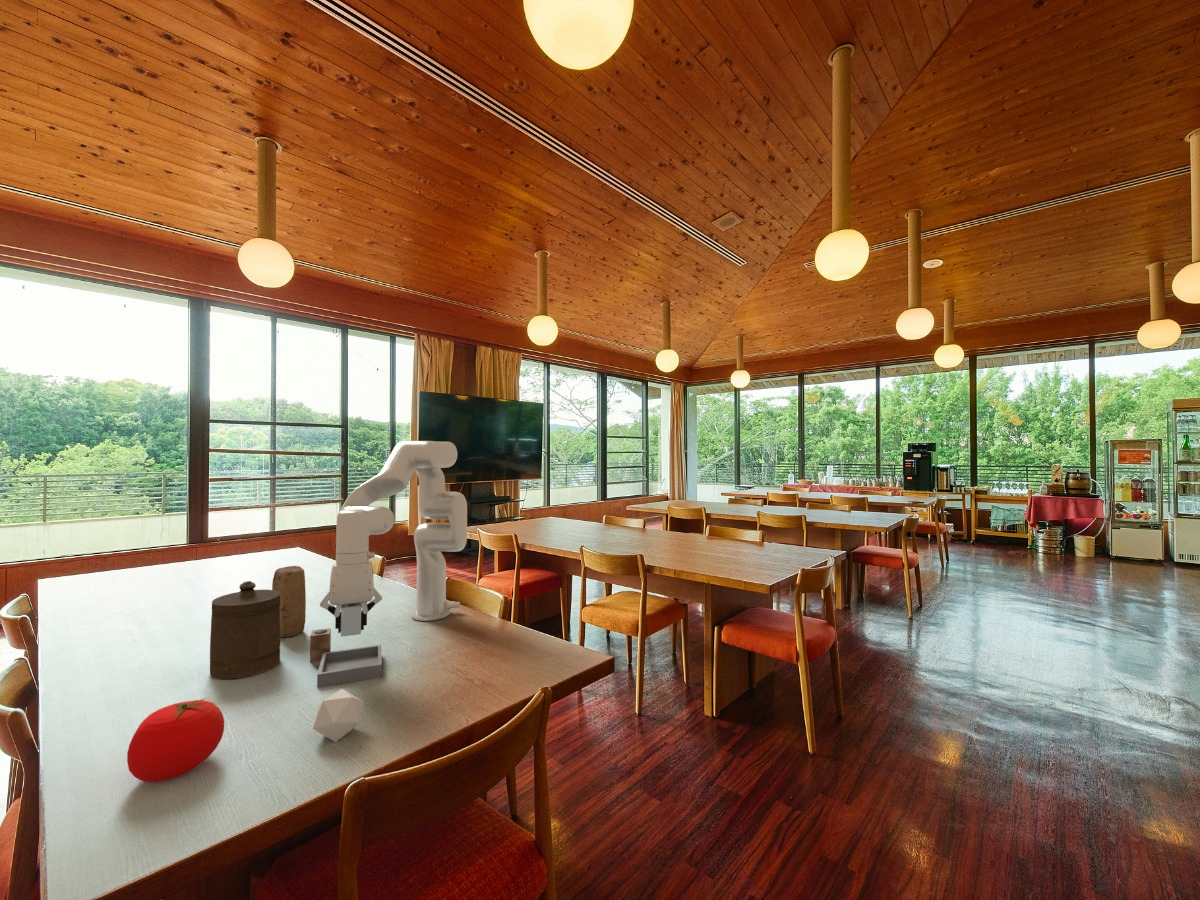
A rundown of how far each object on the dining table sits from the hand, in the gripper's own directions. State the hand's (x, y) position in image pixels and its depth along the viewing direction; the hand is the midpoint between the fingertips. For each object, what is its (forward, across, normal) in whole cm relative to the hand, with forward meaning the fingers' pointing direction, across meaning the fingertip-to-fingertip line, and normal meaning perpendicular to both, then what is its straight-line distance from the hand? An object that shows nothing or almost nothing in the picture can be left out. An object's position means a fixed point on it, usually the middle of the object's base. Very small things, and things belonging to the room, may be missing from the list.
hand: (351, 629), depth 127 cm
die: (+11, +1, +31) cm, 33 cm away
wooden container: (+11, +25, -13) cm, 30 cm away
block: (+11, +19, -37) cm, 43 cm away
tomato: (+11, +26, +32) cm, 42 cm away
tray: (+11, 0, 0) cm, 11 cm away
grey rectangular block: (+1, 0, 0) cm, 1 cm away
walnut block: (+11, +8, -12) cm, 18 cm away
